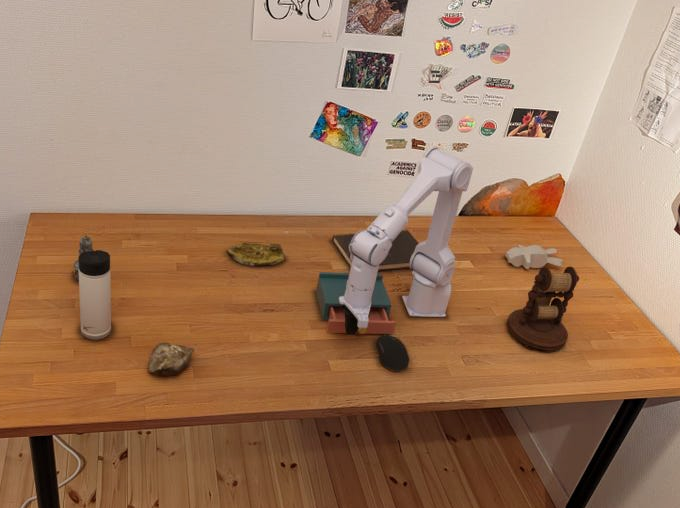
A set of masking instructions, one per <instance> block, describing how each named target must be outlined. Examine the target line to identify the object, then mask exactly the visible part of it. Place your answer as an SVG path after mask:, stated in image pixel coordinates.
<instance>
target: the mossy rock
mask: <svg viewBox="0 0 680 508" xmlns="http://www.w3.org/2000/svg"><path fill="white" fill-rule="evenodd" d="M226 253H227V254H228V255H229V256H230V257H231V258H232V260H234V261H236V262H237V263H238V264H242V265H245V266H250V267H261V266H262V267H263V266H264V267H265V266H267V267H268V266H274V265H277V264H279V263H281V262H282V261H284V259H285V254H284V248H283V245H282V244H280V243H269V244H268V245H266V244H259V243H249V242H241V243H240V244H235V245H232V246H231V247H228V248H227V249H226Z"/></svg>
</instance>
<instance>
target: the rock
mask: <svg viewBox="0 0 680 508" xmlns="http://www.w3.org/2000/svg"><path fill="white" fill-rule="evenodd" d="M194 351H195V348H194V347H190V346H187V345H181V344H171V343H170V342H159V343H158V344H156V345H155V347H154V348H153V349H152V351H151V354H150V359H149V362H148V366H147V369H148V371H149V373H152V374H156V375H159V376H172V375H175V374H178V373H180V372H181V371H182V370H184V369H186V368H187V367H188V366H189V364H190V361H191V357H192V354H193V353H194Z"/></svg>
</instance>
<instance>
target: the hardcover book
mask: <svg viewBox="0 0 680 508" xmlns="http://www.w3.org/2000/svg"><path fill="white" fill-rule="evenodd" d="M355 234H356V233H345V234H333V235H332V240H331V241H332V243H333V244H334V246H335V248H336V249H337V251H338V252H339V254H340V255H341V256H342V258H343V259H344V261H345V263H346V264H347V266H348V267H349V268H350V269H351V264H352V261H351V259H350V256H351V253H350V251H349V244H350V243H351V241H352V238H353V237H354V235H355ZM419 243H420V242H418V240H417V239H416V238H415V237H414V236H413V234H412V233H411V232H410V231H409V230H408V229H403V230H402V231H401V232H400V233H399V235H398V236H397V237H396V238H395V239H394V240H393V241H392V246H391V248H390V250H389V252H388V254H387V256H386V258H385V259H384V260H383V261H382V262H381V263H380V264H379V268H378V272H386V271H396V270H408V269H411V268H410V258H411V256H412V254H413V253H414V251H415V248H416V246H417V245H418V244H419Z"/></svg>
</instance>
